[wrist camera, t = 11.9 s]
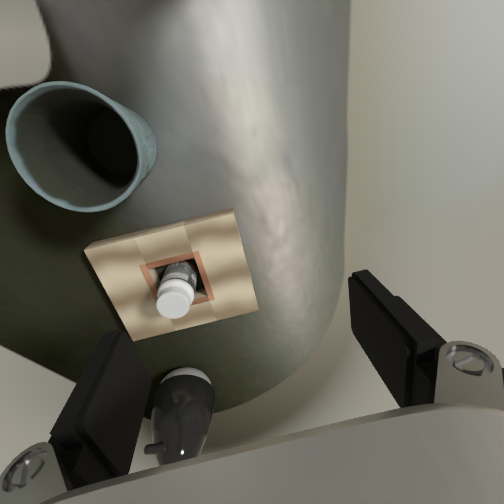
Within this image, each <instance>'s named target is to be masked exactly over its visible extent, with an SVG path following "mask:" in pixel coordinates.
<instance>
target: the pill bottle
mask: <svg viewBox="0 0 504 504" xmlns="http://www.w3.org/2000/svg"><path fill="white" fill-rule="evenodd" d="M196 282H197V270H196V268H195V267H194V266H193V265H192V264H191V263H189V262H187V261H184V260H183V261H179V262H175V263H171V264H169V265H168V266H167V268H166V270H165V273H164V276H163V278H162V281H161V284H160V286H159V289H158V293H157V297H158V299H157V303H156V307H157V310H158V312H159V313H160V314H161V315H163V316H164V317H167V318H171V319H176V318H180V317H183V316H184V315H185V314H186V313H187V312H188V310H189V307H190V305H191V304H192V302H193V300H194V296H195V289H196Z"/></svg>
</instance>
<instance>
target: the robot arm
mask: <svg viewBox="0 0 504 504" xmlns="http://www.w3.org/2000/svg"><path fill="white" fill-rule="evenodd" d="M348 285H349V300H350V315H351V328H352V331H353V334H354V336H355V337H356V339H357V340H358V342H359V343H360V345H361V347H362V348H363V350H364V351H365V353H366V355H367V356H368V358H369V359H370V361H371V362H372V364H373V366H374V367H375V369H376V370H377V372H378V374H379V375H380V377H381V378H382V380H383V381H384V383H385V384H386V386H387V388H388V389H389V391H390V393H391V394H392V396H393V397H394V399H395V400H396V402H397V403H398V405H399V406H400V408H399V409H394V410H390V411H385V412H381V413H376V414H372V415H367V416H363V417H358V418H354V419H350V420H345V421H341V422H338V423H333V424H329V425H325V426H320V427H316V428H312V429H308V430H304V431H300V432H296V433H291V434H288V435H283V436H279V437H275V438H271V439H267V440H263V441H259V442H255V443H250V444H246V445H242V446H239V447H234V448H230V449H226V450H222V451H218V452H214V453H210V454H206V455H202V456H198V457H194V458H190V459H186V460H182V461H178V462H174V463H170V464H166V465H162V466H158V467H154V468H150V469H147V470H143V471H139V472H135V473H131V474H128V473H129V470H130V466H131V462H132V458H133V454H134V450H135V446H136V443H137V438H138V435H139V431H140V427H141V423H142V419H143V415H144V411H145V407H146V403H147V400H148V396H149V392H150V388H151V376H150V374H149V372H148V371H147V369H146V367H145V365H144V363H143V361H142V360H141V358H140V356H139V354H138V352H137V351H136V349H135V347H134V345H133V343H132V341H131V340H130V338H129V336H128V334H127V333H126V332H122V331H121V330H115V331H111V332H107V333H104V334H103V336H102V338H101V340H100V341H99V343H98V345H97V347H96V349H95V351H94V352H93V354H92V356H91V358H90V360H89V362H88V364H87V365H86V367H85V369H84V371H83V373H82V375H81V376H80V378H79V380H78V382H77V384H76V386H75V388H74V389H73V391H72V393H71V395H70V397H69V399H68V401H67V403H66V404H65V406H64V408H63V410H62V412H61V414H60V415H59V417H58V419H57V421H56V423H55V425H54V427H53V428H52V430H51V432H50V434H51V435H52V436H51V437H50V439H49V441H48V443H47V442H41V443H37V444H35V445H33V446H30V447H29V448H27V449H26V450H24V451H23V452H21V453H20V454H19V455H18V456H17V457H15V458H14V459H13V460H12V462H11V463H10V464H9V465H8V466H7V467H6V469H5V470H4V471H3V473H2V474H1V476H0V504H504V368H502V367H501V365H500V362H499V360H498V359H497V358H496V357H495V355H493V354H492V353H491V352H490V351H488V350H487V349H485V348H483V347H481V346H479V345H477V344H473V343H470V342H464V341H452V342H449V343H447V342H446V341H445V340H444V339H443V338H442V337H441V336H440V335H439V334H438V333H437V332H436V331H435V330H434V329H433V328H432V327H430V326H429V325H428V324H427V323H426V322H425V321H424V320H423V319H422V318H421V317H420V316H419V315H418V314H417V313H416V312H415V311H414V310H413V309H412V308H411V307H410V306H409V305H408V304H407V303H406V302H405V301H404V300H403V299H402V298H400V297H399V296H393V295H392V294H391V293H390V292H389V291H388V290H387V289H386V288H385V287H384V286H383V285H382V284H381V283H380V282H379V281H378V280H377V279H376V278H375V277H374V276H373V275H372V274H371V273H370V272H369V271H368V270H362V271H358V272H353V273H352V277H349V278H348Z"/></svg>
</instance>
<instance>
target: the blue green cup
mask: <svg viewBox="0 0 504 504" xmlns="http://www.w3.org/2000/svg"><path fill="white" fill-rule="evenodd" d="M6 142H7V147H8V151H9V154H10V157H11V160H12V162H13V164H14V166H15V168H16V169H17V171H18V173H19V174H20V175H21V177H22V178H23V179H24V181H25V182H26V183H27V184H28V185H29V186H30V187H31V188H32V189H33V190H34V191H35V192H36V193H37V194H39V195H40V196H42V197H43V198H45V199H46V200H48V201H49V202H51V203H53V204H55V205H57V206H60V207H62V208H65V209H68V210H73V211H78V212H98V211H103V210H107V209H110V208H112V207H114V206H116V205H117V204H119V203H120V202H122V201H123V200H124V199H126V198H127V197H128V196H129V195H130V194H131V193H132V192H133V190H134V189H135V188H136V187H137V185H138V184H139V183H140V181H141V180H143V179H144V178H145V177H146V176H147V175H148V174H149V173H150V172H151V170H152V169H153V167H154V165H155V163H156V160H157V154H158V147H157V141H156V138H155V136H154V133H153V131H152V129H151V128H150V126H149V125H148V124H147V122H146V121H145V120H144V119H143V118H142V117H141V116H140V115H138V114H137V113H135V112H134V111H132V110H130V109H128V108H126V107H125V106H123V105H121V104H119V103H117V102H116V101H113V100H111V99H110V98H108V97H106V96H104V95H103V94H101V93H99V92H98V91H96V90H94V89H92V88H90V87H87V86H84V85H81V84H78V83H72V82H66V81H53V82H47V83H43V84H40V85H37V86H35V87H33V88H32V89H30V90H29V91H28V92H26V93H25V94H23V95H22V96H21V97H19V98H18V99H17V101H16V102H15V104H14V105H13V107H12V108H11V110H10V113H9V116H8V118H7V124H6Z"/></svg>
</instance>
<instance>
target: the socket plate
mask: <svg viewBox="0 0 504 504" xmlns="http://www.w3.org/2000/svg"><path fill="white" fill-rule="evenodd" d="M84 252H85V254H86V255H87V257H88V259H89V261H90V263H91V265H92V266H93V268H94V270H95V272H96V274H97V276H98V278H99V279H100V281H101V283H102V285H103V287H104V289H105V290H106V292H107V294H108V296H109V298H110V300H111V301H112V303H113V305H114V307H115V309H116V311H117V312H118V314H119V316H120V318H121V320H122V322H123V324H124V325H125V327H126V329H127V331H128V333H129V335H130V336H131V338H132V340H133V341H136V340H140V339H144V338H148V337H152V336H156V335H160V334H164V333H168V332H172V331H176V330H180V329H184V328H188V327H193V326H197V325H201V324H205V323H209V322H213V321H217V320H221V319H225V318H229V317H233V316H237V315H241V314H245V313H249V312H253V311H257V310H259V309H258V304H257V300H256V296H255V292H254V288H253V284H252V281H251V277H250V273H249V269H248V265H247V261H246V257H245V253H244V249H243V246H242V242H241V238H240V234H239V230H238V226H237V222H236V218H235V214H234V211H233V208H232V209H228V210H223V211H219V212H215V213H211V214H207V215H203V216H199V217H195V218H191V219H187V220H183V221H179V222H174V223H170V224H166V225H162V226H158V227H154V228H150V229H146V230H142V231H138V232H134V233H130V234H125V235H121V236H117V237H113V238H109V239H105V240H101V241H97V242H93V243H91V244H90V245H89V246H88V247H87V248H86V249H85V250H84ZM191 258H195V260H196V263H197V266H198V269H199V272H200V275H201V278H202V280H203V283H204V286H205V288H203V289H199V290H195V296H194V300H193V302H192V304H191V305H190V307H189V310H188V312H187V313H186V314H185V315H184V316H183V317H180V318H176V319H171V318H167V317H164V316H163V315H161V314H160V313H159V312H158V310H157V307H156V303H157V299H158V297H157V293H158V289H159V286H160V284H161V281H160V279H159V276H158V274H157V272H156V269H155V267H159V266H163V265H167V264H171V263H175V262H179V261H183V260H187V259H191Z"/></svg>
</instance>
